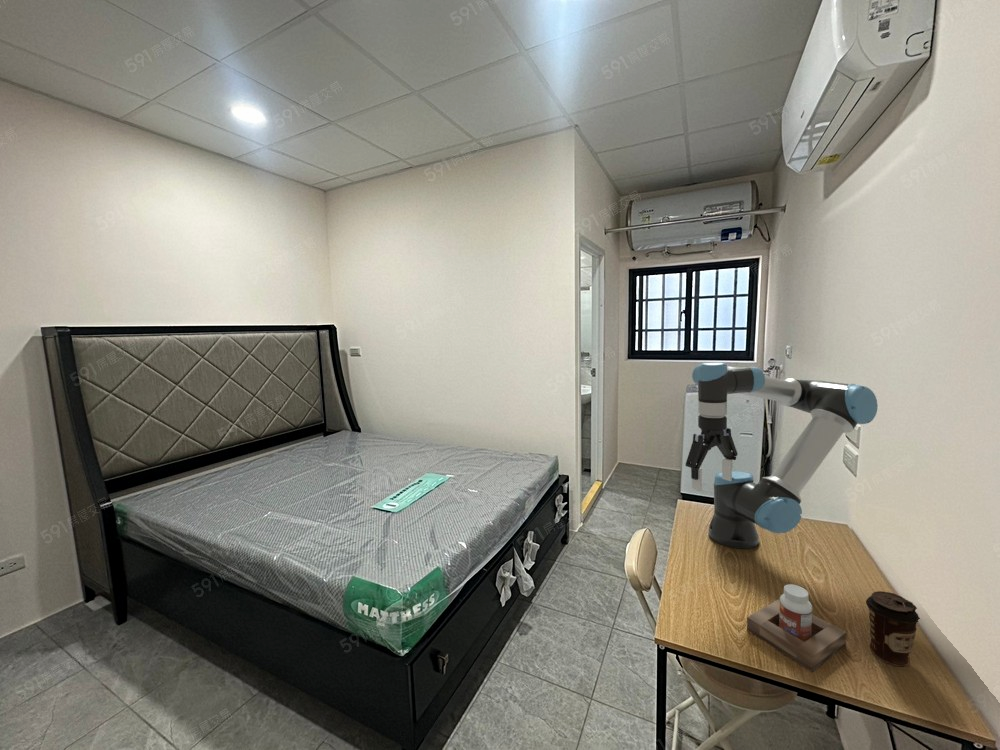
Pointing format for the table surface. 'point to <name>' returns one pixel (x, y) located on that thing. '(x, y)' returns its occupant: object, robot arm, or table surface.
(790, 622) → the pill bottle
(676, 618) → the table surface
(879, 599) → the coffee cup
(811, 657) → the bore block
